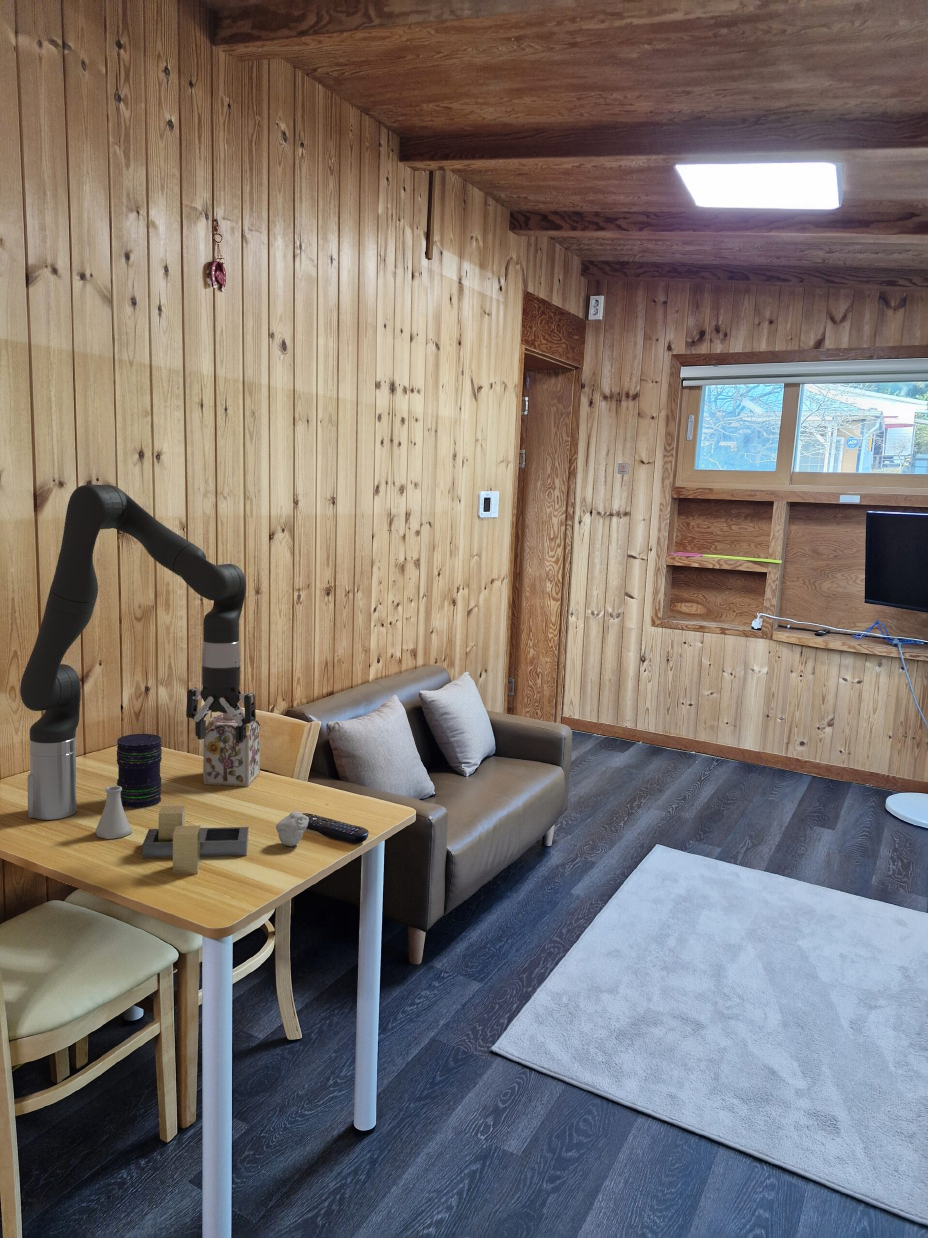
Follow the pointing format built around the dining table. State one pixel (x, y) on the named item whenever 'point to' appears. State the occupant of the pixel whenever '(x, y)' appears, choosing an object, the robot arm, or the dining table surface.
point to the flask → (113, 816)
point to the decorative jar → (230, 753)
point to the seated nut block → (170, 821)
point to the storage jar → (139, 770)
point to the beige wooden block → (186, 850)
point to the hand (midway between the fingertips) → (220, 740)
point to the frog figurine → (292, 828)
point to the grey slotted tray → (202, 843)
